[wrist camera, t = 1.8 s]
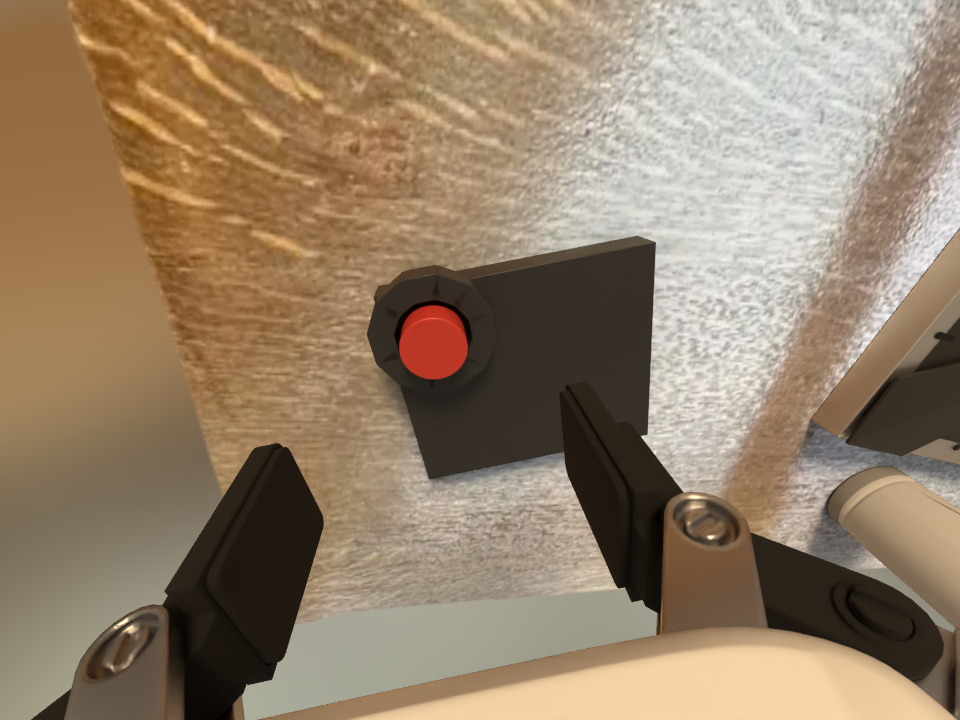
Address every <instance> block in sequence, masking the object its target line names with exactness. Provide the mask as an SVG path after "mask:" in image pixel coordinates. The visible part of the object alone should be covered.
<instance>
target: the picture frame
mask: <svg viewBox="0 0 960 720" xmlns="http://www.w3.org/2000/svg"><path fill="white" fill-rule="evenodd" d="M812 420H813V421H814V422H816V423H817V424H819V425H820V426H821V427H823V428H824V429H826V430H827V431H829V432H830V433H832V434H833V435H835V436H836V437H839V438H843V439H847V440H846V442H845V443H847V444H849V445H853V446H858V447H862V448H867V449H872V450H876V451H881V452H885V453H890V454H894V455H899V456H904V455H906V454H908V453H910V454H915V455H919V456H924V457H928V458H933V459H937V460H942V461H946V462H951V463H955V464H960V229H959V230H958V232H957V233H956V234H955V236H954V237H953V238H952V239H951V241H950V242H949V243H948V245H947V246H946V247H945V248H944V250H943V251H942V252H941V254H940V255H939V256H938V257H937V259H936V260H935V261H934V263H933V264H932V265H931V266H930V268H929V269H928V270H927V272H926V273H925V274H924V275H923V277H922V278H921V279H920V280H919V282H918V283H917V284H916V286H915V287H914V288H913V289H912V291H911V292H910V293H909V295H908V296H907V297H906V298H905V300H904V301H903V302H902V304H901V305H900V306H899V307H898V309H897V310H896V311H895V313H894V314H893V315H892V316H891V318H890V319H889V320H888V322H887V323H886V324H885V325H884V327H883V328H882V329H881V330H880V332H879V333H878V334H877V336H876V337H875V338H874V339H873V341H872V342H871V343H870V345H869V346H868V347H867V348H866V350H865V351H864V352H863V354H862V355H861V356H860V357H859V359H858V360H857V361H856V363H855V364H854V365H853V366H852V368H851V369H850V370H849V371H848V373H847V374H846V375H845V377H844V378H843V379H842V380H841V382H840V383H839V384H838V386H837V387H836V388H835V389H834V391H833V392H832V393H831V395H830V396H829V397H828V398H827V400H826V401H825V402H824V404H823V405H822V406H821V407H820V409H819V410H818V411H817V413H816V414H815V415H814V416H813V418H812Z"/></svg>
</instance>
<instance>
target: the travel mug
mask: <svg viewBox="0 0 960 720" xmlns="http://www.w3.org/2000/svg"><path fill="white" fill-rule="evenodd" d="M828 512H829V515H830V517H831V518H832V519H833V520H834V521H835V522H836V523H838V524H839V525H840V526H841V527H842V528H843V529H844V530H846V531H847V532H849V534H850V535H851V536H852V537H853V538H854V539H856V540H857V541H858V542H859V543H860V544H861V545H862V546H864V547H865V548H866V549H867V550H868V551H869V552H870V553H871V554H873V555H874V556H875V557H876V558H877V559H878V560H879V561H880V562H882V563H883V564H884V565H885V566H886V567H887V568H888V569H889V570H891V571H892V572H893V573H894V574H895V575H896V576H898V577H899V578H900V579H901V580H902V581H903V582H904V583H905V584H907V586H909V587H910V588H911V589H912V590H913V591H914V592H916V593H917V594H918V595H919V596H920V597H921V598H922V599H923V600H924V601H926V602H927V603H928V604H929V605H930V606H931V607H932V608H933V609H935V610H936V611H937V612H938V613H939V614H940V615H941V616H942V617H944V618H945V619H946V620H947V621H948V622H949V623H950V624H951V625H953V626H954V627H955V628H957V627H958V628H960V510H959V509H958V508H956V507H955V506H953V505H952V504H950V503H949V502H947V501H945V500H944V499H942V498H941V497H939V496H938V495H936V494H935V493H933V492H932V491H930V490H929V489H927V488H926V487H924V486H923V485H921V484H918V483H917V482H916V481H915V480H913V479H912V478H910V477H909V476H907V475H906V474H904V473H903V472H901V471H900V470H898V469H896V468H893V467H886V466H884V467H875V468H870V469H867V470H864V471H862V472H860V473H858V474H855V475H854V476H852V477H850V478H849V479H848V480H846V481H845V482H844V483H842V484H841V485H840V486H839V487H838V488H837V489H836V491H835V492H834V493H833V495H832V496H831V498H830V501H829V504H828Z"/></svg>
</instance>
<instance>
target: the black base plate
mask: <svg viewBox="0 0 960 720" xmlns="http://www.w3.org/2000/svg"><path fill="white" fill-rule="evenodd" d="M655 248H656V242H654V241H651V240H648V239H645V238H642V237H639V236H634V237H629V238H624V239H619V240H614V241H609V242H604V243H598V244H593V245H588V246H583V247H578V248H573V249H568V250H562V251H557V252H552V253H547V254H542V255H537V256H532V257H526V258H521V259H516V260H511V261H506V262H501V263H496V264H490V265H485V266H480V267H475V268H470V269H465V270H460V271H453V270H450V269H447V268H444V267H441V266H436V265H433V266H428V267H423V268H418V269H413V270H407V271H404V272H402V273H401V274H400V275H399V276H398V277H396V278H395V279H394V280H393V281H392V282H391V283H390V284H388V285H382V286H378V288H377V291H376V293H375V295H374V300H375V305H374V309H373V313H372V317H371V320H370V324H369V328H368V331H367V337H368V340H369V343H370V346H371V349H372V352H373V355H374V358H375V361H376V364H377V365H378V366H379V367H380V368H382V369H383V370H384V371H385V372H386V373H387V374H388V375H389V376H391V377H392V378H393V379H394V380H395V381H396V382H397V383H399V384H400V385H401V389H402V392H403V395H404V399H405V402H406V405H407V408H408V412H409V415H410V418H411V421H412V425H413V428H414V431H415V435H416V438H417V441H418V444H419V448H420V451H421V454H422V457H423V461H424V464H425V467H426V470H427V474H428V477H429V479H434V478H439V477H444V476H449V475H454V474H458V473H463V472H468V471H473V470H478V469H483V468H488V467H492V466H497V465H502V464H507V463H512V462H517V461H521V460H526V459H531V458H536V457H541V456H546V455H550V454H555V453H560V452H564V444H563V432H562V420H561V408H560V397H559V393H560V391H564V390H565V387H566V385H567V384H572V383H577V382H582V381H587V382H588V383H589V385H590V386H591V387H592V389H593V390H594V392H595V393H596V394H597V396H598V397H599V399H600V400H601V401H602V403H603V404H604V406H605V407H606V408H607V410H608V411H609V413H610V414H611V415H612V417H613V418H614V420H615V421H616V422H617V423H619V422H624V421H627V422H629V423H630V424H631V425H632V426H633V427H634V429H635V430H636V431H637V432H638V434H639V435H640V436H642V435H647V433H648V410H649V387H650V364H651V340H652V317H653V294H654V271H655ZM429 305H438V306H443V307H446V308H448V309H450V310H452V311H453V312H454V313H455V314H457V315H458V317H459V318H460V319H461V321H462V323H463V325H464V329H465V333H466V338H467V344H468V353H467V357H466V360H465V362H464V363H463V365H462V366H461V367H460V369H459V370H457V371H456V372H455V373H454V374H452V375H450V376H448V377H445V378H442V379H425V378H422V377H419V376H417V375H415V374H414V373H412V372H411V371H410V370H408V368H407V367H406V366H405V365H404V363H403V362H402V360H401V357H400V353H399V343H400V338H401V332H402V327H403V324H404V322H405V320H406V319H407V317H408V316H409V315H410V314H411V313H412V312H413V311H415V310H417V309H418V308H421V307H424V306H429Z"/></svg>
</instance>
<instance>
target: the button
mask: <svg viewBox="0 0 960 720" xmlns="http://www.w3.org/2000/svg"><path fill="white" fill-rule="evenodd" d="M399 353H400V357H401V360H402V362H403V363H404V365H405V366H406V367H407V368H408V370H410V371H411V372H412V373H414V374H415V375H417V376H419V377H422V378H425V379H442V378H445V377H448V376H450V375H452V374H454V373H455V372H456V371H457V370H459V369H460V367H461V366H462V365H463V363H464V362H465V360H466V357H467V353H468V344H467V338H466V333H465V329H464V325H463V323H462V321H461V319H460V318H459V317H458V315H457V314H455V313H454V312H453V311H452V310H450V309H448V308H446V307H443V306H438V305H429V306H424V307H421V308H418V309H417V310H415V311H413V312H412V313H411V314H410V315H409V316H408V317H407V319H406V320H405V322H404V324H403V327H402V332H401V338H400V343H399Z"/></svg>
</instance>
